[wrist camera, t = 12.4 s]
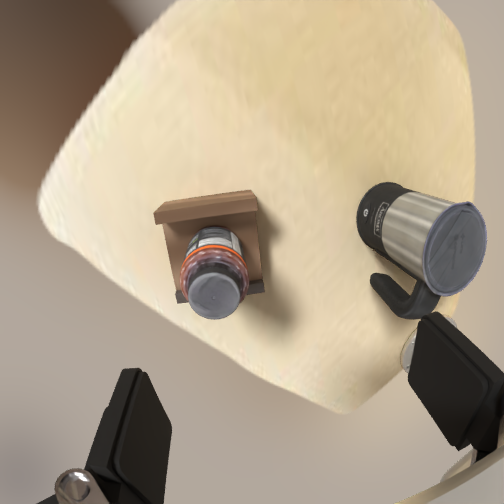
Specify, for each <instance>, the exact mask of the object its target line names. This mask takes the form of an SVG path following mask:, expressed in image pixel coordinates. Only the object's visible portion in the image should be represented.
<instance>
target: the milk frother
mask: <svg viewBox="0 0 504 504" xmlns="http://www.w3.org/2000/svg"><path fill="white" fill-rule="evenodd" d="M357 228H358V232H359V234H360V236H361V238H362V240H363V241H364V242H365V243H366V244H367V245H368V246H370V247H371V248H373V249H376V252H377V253H379V254H380V255H382V256H383V257H385V258H386V259H388V260H389V261H391V262H392V263H393V264H395V265H396V266H398V267H399V268H400V269H402V270H403V271H405V272H406V273H407V274H409V275H410V276H412V277H413V278H415V279H416V280H417V282H416V285H415V287H414V290H413V292H412V295H411V296H410V295H409V294H408V293H407V292H406V291H405V290H403V289H402V288H401V287H400V286H399V285H398V284H397V283H396V282H395V281H394V280H393V279H392V278H391V277H390V276H388V275H386V274H381V273H373V274H372V275H371V276H370V284H371V285H372V287H373V288H374V289H375V290H376V292H377V293H378V294H379V295H380V297H381V298H382V299H383V300H384V301H385V303H386V304H387V305H388V306H389V307H390V309H391V310H392V311H393V312H394V313H395V314H396V315H397V316H398V317H401V318H405V319H421V318H422V317H423V316H424V315H427V314H430V313H431V312H432V311H433V310H434V308H435V307H436V305H437V303H438V301H439V299H440V297H441V296H451V295H454V294H457V293H458V292H460V291H462V290H463V288H465V287H466V286H467V285H468V284H469V283H470V282H471V281H472V280H473V279H474V277H475V275H476V274H477V272H478V271H479V268H480V266H481V264H482V262H483V258H484V255H485V250H486V244H487V232H486V225H485V222H484V219H483V217H482V215H481V214H480V212H479V211H478V210H477V208H476V207H475V206H474V205H473V203H471V202H463V203H454V202H451V201H448V200H444V199H441V198H437V197H434V196H430V195H427V194H423V193H420V192H416V191H412V190H409V189H406V188H403V187H402V186H400V185H398V184H396V183H391V182H385V183H380V184H378V185H375V186H374V187H372V188H371V189H370V190H369V191H368V192H367V193H366V194H365V195H364V197H363V198H362V200H361V202H360V204H359V207H358V211H357Z"/></svg>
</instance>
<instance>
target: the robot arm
mask: <svg viewBox="0 0 504 504" xmlns="http://www.w3.org/2000/svg"><path fill="white" fill-rule="evenodd" d="M401 365H402V367H403V369H404V370H405V371H406V372H407V373H408V382H409V384H410V386H411V387H412V389H413V390H414V392H415V393H416V395H417V396H418V398H419V399H420V400H421V402H422V403H423V405H424V406H425V408H426V409H427V411H428V412H429V414H430V415H431V417H432V418H433V420H434V421H435V423H436V424H437V426H438V427H439V429H440V430H441V432H442V433H443V435H444V436H445V438H446V439H447V441H448V442H449V444H450V445H451V446H455V447H456V449H457V450H458V451H459V450H461V449H463V448H465V447H466V446H468V445H470V443H471V445H472V446H473V449H472V450H470V451H469V452H468V453H467V454H466V455H465V456H464V457H463V458H462V459H460V460H459V461H458V462H457V463H456V464H455V465H453V466H452V467H451V468H450V469H449V470H448V471H447V472H446V473H445V474H444V475H443V477H442V479H441V481H440V483H439V484H437V485H435V486H433V487H431V488H429V489H427V490H425V491H422V492H420V493H418V494H416V495H414V496H411V497H409V498H407V499H404V500H402V501H400V502H397V503H395V504H504V373H503V372H502V371H501V370H500V369H499V368H498V367H497V366H496V365H495V364H494V363H493V362H492V361H491V360H490V359H489V358H488V357H487V356H486V355H485V354H484V353H483V352H482V351H481V350H480V349H479V348H478V347H477V346H475V345H474V344H473V343H472V342H471V341H470V340H469V339H468V338H467V337H466V336H465V335H463V333H462V332H460V331H459V330H458V329H457V326H456V323H455V321H454V320H453V319H452V318H450V317H449V316H446V315H441V314H440V313H439V312H433V313H430V314H427V315H424V316H423V317H422V318H421V321H419V323H418V327H417V329H416V330H415V331H414V332H413V333H412V334H411V336H410V337H409V338H408V340H407V342H406V343H405V345H404V348H403V350H402V353H401ZM171 434H172V426H171V422H170V420H169V418H168V416H167V414H166V412H165V410H164V409H163V406H162V404H161V402H160V400H159V398H158V396H157V394H156V392H155V390H154V387H153V385H152V383H151V381H150V378H149V376H148V374H147V373H146V372H142V370H141V369H140V368H129V369H123V370H122V372H121V374H120V377H119V379H118V382H117V384H116V387H115V390H114V392H113V395H112V398H111V400H110V403H109V406H108V407H107V408H106V409H105V411H104V413H103V416H102V418H101V421H100V424H99V427H98V430H97V433H96V436H95V438H94V441H93V445H92V447H91V450H90V453H89V456H88V459H87V462H86V466H85V469H80V468H72V469H69V470H66V471H65V472H63V473H62V474H61V475H60V476H59V477H58V478H57V480H56V482H55V488H54V490H55V495H52V496H51V497H49V498H47V499H45V500H43V501H41V502H39V503H37V504H163V503H164V494H165V484H166V474H167V466H168V457H169V450H170V441H171Z"/></svg>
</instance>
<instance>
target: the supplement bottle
mask: <svg viewBox="0 0 504 504" xmlns="http://www.w3.org/2000/svg"><path fill="white" fill-rule="evenodd" d="M180 287H181V291H182V293H183V295H184V297H185V298H186V300H187V301H188V302H189V304H190V306H191V308H192V309H193V310H194V311H195V312H196V313H197V314H198V315H200V316H202V317H204V318H208V319H221V318H225V317H227V316H229V315H230V314H232V313H233V312H234V311H235V310H236V308H237V307H238V305H239V303H241V301H242V300H243V299H244V297H245V296H246V294H247V291H248V288H249V273H248V268H247V264H246V260H245V256H244V252H243V248H242V245H241V242H240V240H239V238H238V237H237V236H236V234H235V233H234V232H232V231H231V230H230V229H228V228H225V227H222V226H208V227H205V228H203V229H201V230H199V231H198V232H197V233H196V234H195V235H194V236H193V237H192V239H191V241H190V242H189V245H188V248H187V251H186V254H185V257H184V261H183V264H182V268H181V271H180Z"/></svg>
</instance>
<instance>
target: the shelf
mask: <svg viewBox="0 0 504 504" xmlns="http://www.w3.org/2000/svg"><path fill="white" fill-rule="evenodd" d="M256 210H258V207H257V198H256V197H255V195H254V194H253V193H252V191H251V190H245V191H237V192H230V193H222V194H215V195H208V196H201V197H194V198H188V199H181V200H175V201H169V202H164V203H163V204H162V205H161V206H160V207H159V208H158V209H157V210H156V211H155V212H154V218H155V223H156V225H158V224H163V229H164V234H165V240H166V245H167V249H168V254H169V259H170V264H171V269H172V273H173V278H174V282H175V286H176V294H175V295H176V299H177V303H178V304H179V303H187V302H188V301H187V300H186V298H185V297H184V295H183V293H182V291H181V287H180V271H181V268H182V264H183V261H184V257H185V254H186V251H187V248H188V245H189V242H190V241H191V239H192V237H193V236H194V235H195V234H196V233H197V232H198V231H199V230H201V229H203V228H205V227H208V226H222V227H225V228H228V229H230V230H231V231H232V232H234V233H235V234H236V236H237V237H238V238H239V240H240V242H241V245H242V248H243V252H244V256H245V260H246V264H247V268H248V273H249V288H248V291H247V294H246V295H248V294H255V293H262V292H265V291H264V282H263V279H262V270H261V260H260V251H259V242H258V232H257V223H256V214H255V211H256Z"/></svg>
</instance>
